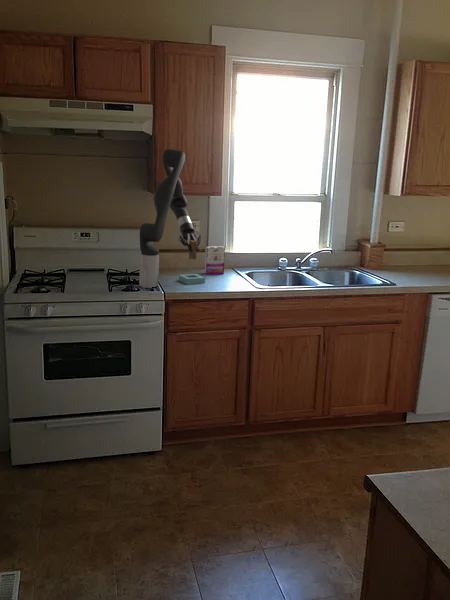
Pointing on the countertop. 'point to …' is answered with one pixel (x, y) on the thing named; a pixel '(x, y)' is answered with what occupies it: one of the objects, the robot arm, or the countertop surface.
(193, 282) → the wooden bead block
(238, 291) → the countertop surface
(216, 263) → the candy bar box
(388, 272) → the countertop surface
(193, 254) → the tall brown block
